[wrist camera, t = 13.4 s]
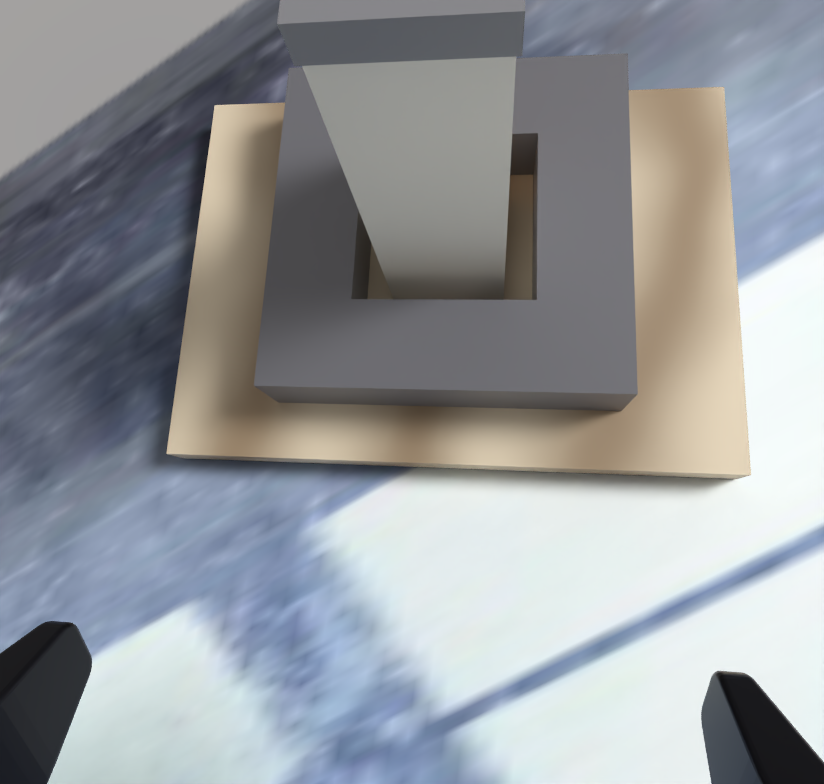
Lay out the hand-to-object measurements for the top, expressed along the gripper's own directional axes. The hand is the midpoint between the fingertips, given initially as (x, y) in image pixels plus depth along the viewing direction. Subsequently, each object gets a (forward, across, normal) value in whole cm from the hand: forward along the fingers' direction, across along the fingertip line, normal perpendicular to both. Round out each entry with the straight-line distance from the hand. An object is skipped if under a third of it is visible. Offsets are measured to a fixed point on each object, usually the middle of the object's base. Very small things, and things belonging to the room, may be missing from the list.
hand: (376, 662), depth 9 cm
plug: (+18, 0, 0) cm, 18 cm away
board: (+18, 0, +1) cm, 18 cm away
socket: (+17, 0, 0) cm, 17 cm away
